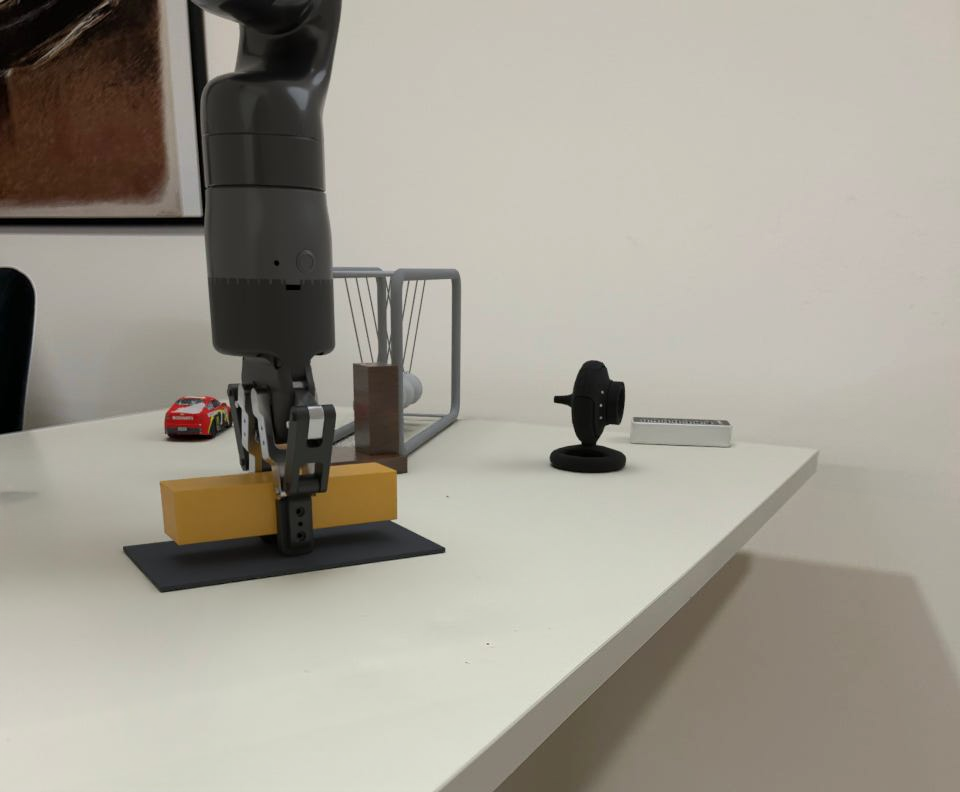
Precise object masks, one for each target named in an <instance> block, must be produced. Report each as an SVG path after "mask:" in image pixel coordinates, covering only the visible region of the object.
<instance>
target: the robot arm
mask: <svg viewBox="0 0 960 792" xmlns="http://www.w3.org/2000/svg"><path fill="white" fill-rule="evenodd" d="M190 1H191V3H193V4H194V5H195V6H197V7H198V8H200V9H201V10H203V11H204V12H207V13H209V14H210V15H214V16H216V17H220V18H223V19H225V20H229V21H230V22H234V23H236V24H238V26H239V27H238V28H239V38H238V46H237V54H236V61H235V65H234V70H233V71H232V72H226V73H223V74H220V75H216V76H215V77H213V78H211V79H210V80H209V81H208V82H207V83H206V84H205V85H204V87H203V89H202V91H201V96H200V109H199V111H200V113H199V114H200V115H199V117H200V137H201V151H202V152H201V153H202V164H203V165H202V167H203V178H204V179H203V180H204V188H206V189H205V190H204V191H205V192H204V193H205V194H204V195H205V204H204V205H205V206H204V219H203V221H204V222H203V223H204V225H203V231H204V232H203V233H204V248H205V249H204V250H205V260H206V261H205V263H206V274H207V290H208V302H209V315H210V317H209V318H210V329H211V330H210V331H211V341H212V347H213V348H214V350H215V351H216V352H217V353H219V354H221V355H224V356H230V357H240V358H242V359H241V360H242V361H241V362H242V363H241V373H240V374H241V375H240V379H241V382H240V383H239V382H236V383H228V385H227V389H226V395H227V397H228V403H229V407H230V409H231V414H232V420H233V423H232V426H233V431H234V436H235V442H236V447H237V453H238V458H239V464H240V467H241V470H242V471H243V472H248V473H258V472H269V471H272V475H273V483H274V493H275V496H276V498H277V499H275V502H276V520H277V534H270V535H262V536H259V538H260V539H262V540H263V541H265V542H272V541H278V550H279V552H280V553H282V554H283V555H285V556H287V557H290V556H298V555H305V554H309V553H311V552H312V550H313V548H314V542H313V519H312V498H311V497H315V496H316V494H317V493H325V492H326V491H327V487H328V479H329V471H330V463H331V455H332V447H333V446H334V443H333V439H334V431H335V430H336V423H337V412H336V408H335V406H334V404H332V403H327V404H319V398H318V391H317V388H316V384H315V380H314V379H315V378H314V375H313V367H312V365H311V363H312V359H313V358H314V357H315V356H316V357H317V356H319V357H320V356H325V355H329V354H331V353H332V352H334V350H335V348H336V321H335V319H336V318H335V317H336V316H335V293H334V290H335V288H334V278H333V267H334V259H333V237H332V226H331V220H330V215H329V208H328V200H327V193H325V192H326V191H327V190H326V189H327V186H326V158H325V157H326V156H325V154H326V153H325V130H324V111H325V105H326V101H327V97H328V92H329V88H330V85H331V80H332V79H331V78H332V74H333V68H334V61H335V55H336V49H337V43H338V37H339V32H340V24H341V19H342V18H341V17H342V9H343V0H190ZM255 435H257V437H255ZM314 463H315V467H314ZM300 467H301V471H302V475H299V472H300Z"/></svg>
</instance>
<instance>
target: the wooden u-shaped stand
mask: <svg viewBox="0 0 960 792" xmlns="http://www.w3.org/2000/svg"><path fill="white" fill-rule="evenodd" d="M352 384H353V385H352V388H353V401H354V410H353V421H354V427H355V432H354V446H351V447H340V448H332V455H331V463H330V466H338V465H349V464H361V463H372V462H376V463H378V464H381V465H383V466H386V467H388V468H391V469H393V470H396V471H397V474H403V473H408V455H406V456H405V455H402V454H399V400H398V366H397V365H392V364H391V363H388V362H387V363H383V362H377V361H376V362H374V363H372V362H363V363H361V362H353V363H352ZM255 437H257V435H255ZM314 467H315V463H314ZM300 469H301V467H300Z"/></svg>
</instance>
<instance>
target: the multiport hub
mask: <svg viewBox="0 0 960 792" xmlns="http://www.w3.org/2000/svg"><path fill="white" fill-rule="evenodd" d="M732 434H733V425H732V423H731V422H730V421H729V420H726V419H705V418H704V419H702V418H700V419H699V418H678V417H677V418H675V417H674V418H673V417H650V416H633V417H631V418H630V430H629V443H630V444H642V445H643V444H645V445H646V444H647V445H669V446H671V445H672V446H694V447H717V448H720V447H721V448H730V447H731V443H732V442H731V441H732V436H733V435H732Z"/></svg>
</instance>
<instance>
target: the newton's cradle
mask: <svg viewBox="0 0 960 792" xmlns="http://www.w3.org/2000/svg"><path fill="white" fill-rule="evenodd" d="M362 278H364V279H365V281H366V286H367V290H368V291H367V292H368V297H369V301H370V306H371V311H372V317H373V322H374V326H375V333H376V337H377V358H376V362H383V363H387V364H388V361H389V356H390V364H392V365H397V366H398V400H399V454H402V455H405V456H408V455H409V454H410V453H412V452H413V451H415V450H416V449H418V448H419V447H420V446H421V445H423V444H424V443H425V442H428V440H430V439H431V438H433V437H434V436H435V435H437V434H438V433H440V432H441V431H442V430H444V429H445V428H446V427H448V426H450V425H451V424H452V423H454V422H455V421H456V420H457V419H458V418H459V414H460V408H461V358H462V357H461V354H462V353H461V352H462V351H461V349H462V347H461V346H462V345H461V344H462V280H461V274H460V272H459V270H458V269H456V268H407V267H405V268H398V269H396V270H383V269H382V268H381V267H378V266H377V267H375V266H373V267H372V266H333V279H344V284H345V289H346V293H347V298H348V302H349V303H348V304H349V307H350V313H351V318H352V322H353V327H354V332H355V338H356V342H357V349H358V352H359V357H360V363H364V361H363V356H362V351H361V345H360V341H359V336H358V330H357V326H356V321H355V316H354V312H353V306H352V301H351V296H350V291H349V287H348V286H349V285H348V281H347V279H355V284H356V287H357V288H356V289H357V293H358V297H359V298H358V299H359V303H360V308H361V313H362V319H363V324H364V329H365V332H366V338H367V343H368V348H369V353H370V358H371V359H370V360H371V363H375V362H374V358H373V357H374V356H373V353H372V352H373V351H372V347H371V343H370V342H371V341H370V337H369V332H368V327H367V322H366V317H365V316H366V315H365V311H364V306H363V301H362V297H361V292H360V285H359V280H358V279H362ZM368 278H374V279H375V282H376V303H377V305H376V306H377V307H376V309H377V321H376V315H375V311H374V304H373V300H372V295H371V289H370V285H369V284H370V283H369V279H368ZM387 278H389V283H388V281H387ZM435 280H436V281H437V280H451V353H450V354H451V365H450V366H451V367H450V369H451V371H450V372H451V373H450V375H451V376H450V377H451V379H450V381H451V382H450V386H451V387H450V410H449V413H447V414H444V413H443V414H441V413H423V412H422V413H418V412H404V409H406V408H408V407H409V406H411V405H414V404H416V403H417V402H418V401H419V400H420V399H421V397H422V396H423V389H424V388H423V384H422V381H421V380H420V378H419V377H418V376H417V375H415V374H413V373H411V371H412V366H413V365H412V364H413V359H414V353H415V346H416V341H417V336H418V329H419V323H420V318H421V317H420V316H421V310H422V305H423V299H424V292H425V288H426V287H425V286H426V282H427V281H435ZM411 281H415V286H414V292H413V299H412V305H411V311H410V316H409V322H408V328H407V333H406V341H405V346H404V338H403V337H404V332H403V329H404V327H403V325H404V324H403V322H404V316H405V311H406V306H407V298H408V293H409V286H410V282H411ZM418 281H423V286H422V292H421V298H420V304H419V310H418V316H417V322H416V326H415V327H416V328H415V334H414V340H413V346H412V353H411V356H410V357H411V358H410V363H409V370H405V367H404V364H405V359H406V354H407V347H408V342H409V341H408V340H409V336H410V328H411V323H412V317H413V312H414V311H413V310H414V307H415V306H414V305H415V299H416V294H417V289H418ZM404 282H407V285H406V290H405V296H404V303H403V288H404ZM388 305H389V307H390V308H389V309H390V311H389V312H390V335H389V334H388V325H387V324H388V320H387V319H388V317H387V313H388V310H387V309H388ZM352 410H353V411H354V400H353V401H352ZM404 417H416V418H417V417H419V418H440V419H438V420H437V421H435V422H434V423H432V424H430V426H427V427H426V428H425V429H423V430H421V431H420V432H419V433H417V434H416V435H414V436H413V437H411V438H410V439H408V440H407V441H405V434H404V433H405V430H404V427H405V426H404V420H405V419H404ZM353 433H355V427H354V420H353V421H350V422H349V423H347V424H345V425H343V426H342V425H341V427H338V428H335V431H334V439H333V444H334V443H336V442H339V440H342V439H344V438H345V437H347V436H349V435H351V434H353ZM340 447H352V445H351V446H350V445H349V446H348V445H333V447H332V448H340Z"/></svg>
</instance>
